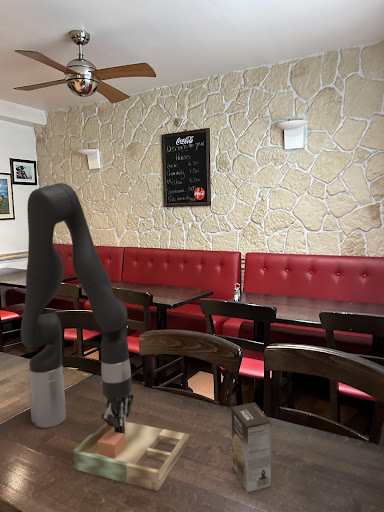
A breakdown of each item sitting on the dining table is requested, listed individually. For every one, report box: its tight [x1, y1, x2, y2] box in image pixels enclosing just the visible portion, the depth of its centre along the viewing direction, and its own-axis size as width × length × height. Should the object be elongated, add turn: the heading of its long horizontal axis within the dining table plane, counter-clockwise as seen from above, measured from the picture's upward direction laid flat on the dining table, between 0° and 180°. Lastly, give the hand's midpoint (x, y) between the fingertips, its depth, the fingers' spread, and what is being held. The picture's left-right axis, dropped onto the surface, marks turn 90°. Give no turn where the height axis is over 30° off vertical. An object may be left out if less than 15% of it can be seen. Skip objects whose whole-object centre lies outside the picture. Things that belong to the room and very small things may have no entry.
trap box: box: [73, 421, 191, 492], centre depth 101 cm, size 23×20×5 cm
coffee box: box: [231, 402, 272, 493], centre depth 90 cm, size 9×6×16 cm
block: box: [97, 431, 125, 458], centre depth 100 cm, size 5×5×4 cm
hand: (120, 436), depth 104 cm, fingers closed
